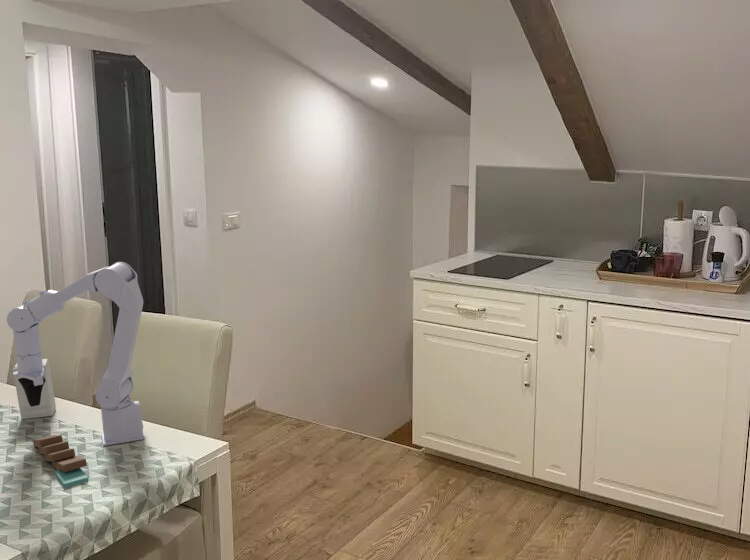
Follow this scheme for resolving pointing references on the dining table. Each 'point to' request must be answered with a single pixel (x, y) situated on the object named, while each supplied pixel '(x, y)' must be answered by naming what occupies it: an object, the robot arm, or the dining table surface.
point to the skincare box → (47, 396)
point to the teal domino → (71, 477)
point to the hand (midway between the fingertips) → (34, 405)
